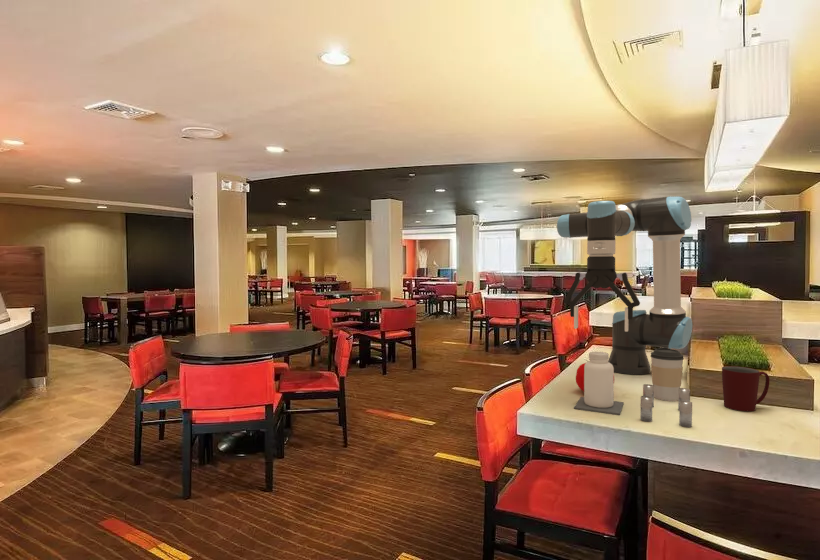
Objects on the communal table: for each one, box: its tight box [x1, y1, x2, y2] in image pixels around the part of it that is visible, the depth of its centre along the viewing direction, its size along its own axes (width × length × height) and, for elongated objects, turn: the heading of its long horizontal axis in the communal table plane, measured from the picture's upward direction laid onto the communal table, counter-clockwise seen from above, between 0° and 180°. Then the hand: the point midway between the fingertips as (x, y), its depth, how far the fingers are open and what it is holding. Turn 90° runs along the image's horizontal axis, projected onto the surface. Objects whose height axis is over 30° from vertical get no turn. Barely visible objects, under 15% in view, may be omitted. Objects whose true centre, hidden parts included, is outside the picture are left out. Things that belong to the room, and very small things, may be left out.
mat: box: [573, 396, 625, 416], centre depth 139 cm, size 12×12×1 cm
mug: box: [721, 365, 770, 412], centre depth 137 cm, size 12×9×11 cm
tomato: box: [575, 359, 588, 393], centre depth 152 cm, size 12×12×10 cm
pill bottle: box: [583, 351, 615, 408], centre depth 139 cm, size 8×8×15 cm
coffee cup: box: [650, 347, 684, 402], centre depth 147 cm, size 9×9×15 cm
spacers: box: [639, 383, 693, 428], centre depth 131 cm, size 17×12×6 cm
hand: (600, 329), depth 138 cm, fingers open, 13 cm apart
